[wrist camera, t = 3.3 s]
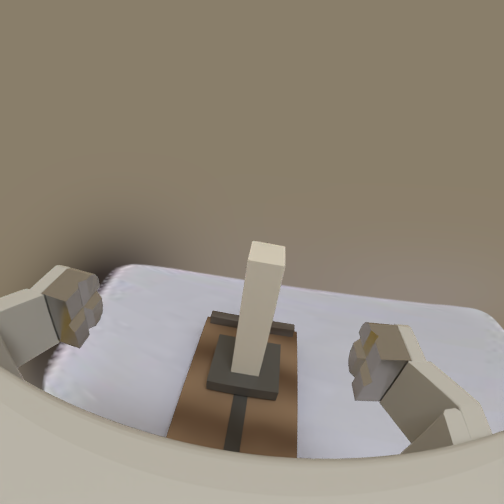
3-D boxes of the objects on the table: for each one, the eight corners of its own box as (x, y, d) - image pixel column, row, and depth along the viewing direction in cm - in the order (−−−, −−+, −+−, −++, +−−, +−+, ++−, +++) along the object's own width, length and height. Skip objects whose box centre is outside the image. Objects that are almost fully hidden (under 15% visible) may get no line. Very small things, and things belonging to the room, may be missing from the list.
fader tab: (275, 400, 23) (314, 283, 17) (206, 388, 23) (215, 266, 18) (278, 352, 28) (307, 242, 23) (218, 342, 28) (231, 228, 23)
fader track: (279, 598, 8) (290, 602, 6) (130, 573, 8) (120, 574, 7) (292, 344, 33) (298, 325, 31) (206, 329, 33) (208, 309, 32)
